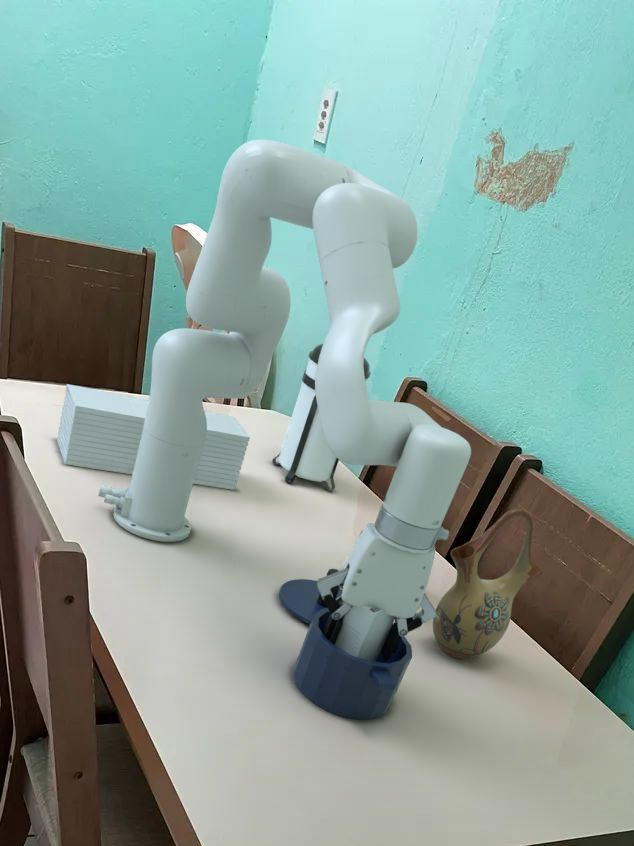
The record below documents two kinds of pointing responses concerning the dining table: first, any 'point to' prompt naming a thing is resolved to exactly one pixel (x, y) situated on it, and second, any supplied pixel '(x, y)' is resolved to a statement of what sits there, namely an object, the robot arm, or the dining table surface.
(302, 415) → the coffee press
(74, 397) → the white ridged box
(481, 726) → the dining table surface
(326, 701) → the pot
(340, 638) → the cosmetic box
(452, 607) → the ceramic vessel
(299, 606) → the lid
